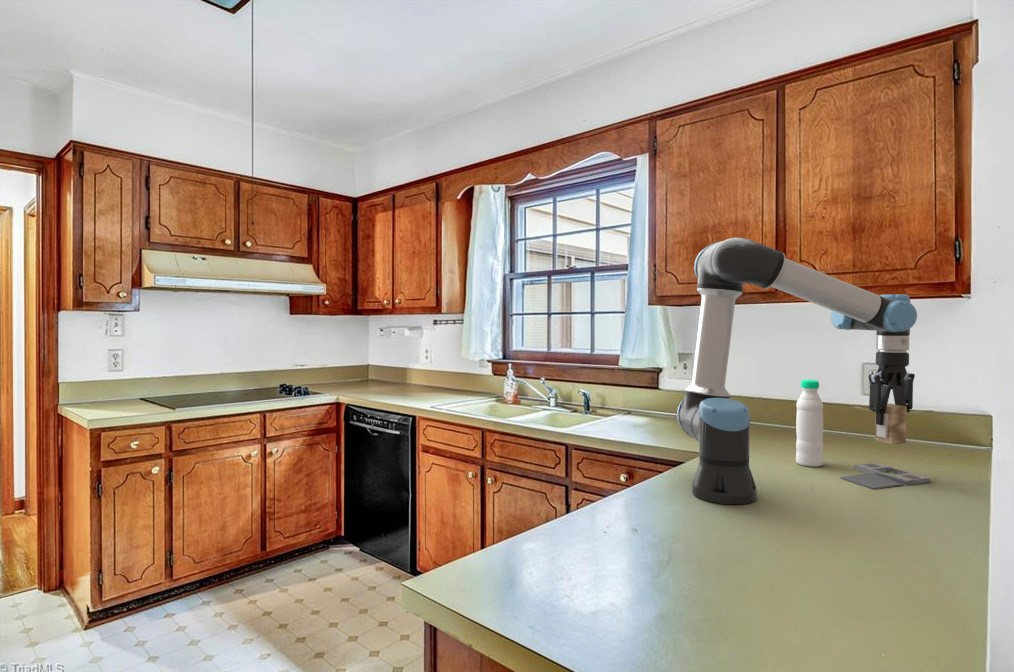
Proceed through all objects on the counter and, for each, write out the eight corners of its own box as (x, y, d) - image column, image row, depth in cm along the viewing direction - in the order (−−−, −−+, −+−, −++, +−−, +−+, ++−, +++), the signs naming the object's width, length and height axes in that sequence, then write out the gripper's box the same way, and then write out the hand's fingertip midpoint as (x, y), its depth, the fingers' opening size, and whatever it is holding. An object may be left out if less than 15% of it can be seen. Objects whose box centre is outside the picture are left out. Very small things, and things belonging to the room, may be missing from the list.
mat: (873, 489, 144) (873, 487, 144) (840, 478, 154) (840, 476, 154) (903, 485, 147) (903, 484, 147) (869, 474, 156) (869, 473, 156)
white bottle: (795, 465, 166) (796, 381, 165) (796, 460, 173) (796, 378, 171) (823, 468, 163) (824, 382, 162) (822, 462, 169) (823, 379, 168)
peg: (891, 444, 152) (892, 407, 152) (874, 440, 157) (875, 404, 156) (905, 443, 153) (906, 406, 153) (888, 439, 158) (889, 403, 158)
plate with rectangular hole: (906, 485, 147) (906, 480, 147) (854, 468, 162) (854, 464, 162) (930, 482, 149) (930, 477, 149) (876, 466, 164) (876, 462, 164)
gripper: (878, 352, 148) (876, 441, 149) (931, 351, 153) (928, 436, 154) (853, 351, 155) (851, 435, 156) (905, 349, 160) (903, 431, 161)
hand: (890, 435), depth 155 cm, fingers closed on peg, 5 cm apart
